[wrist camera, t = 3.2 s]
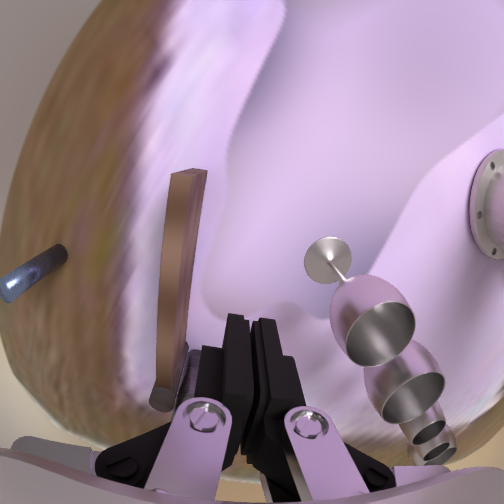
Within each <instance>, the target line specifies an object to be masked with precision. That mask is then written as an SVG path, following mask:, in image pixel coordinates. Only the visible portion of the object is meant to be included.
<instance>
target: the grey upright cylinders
mask: <svg viewBox="0 0 504 504" xmlns="http://www.w3.org/2000/svg"><path fill="white" fill-rule="evenodd" d="M67 257H68V254H67V251H66V249H65V247H64V246H62V245H61V244H56V245H54V246H53V247H51V248H49V249H47V250H46V251H44V252H42V253H41V254H39V255H37V256H36V257H34V258H32V259H31V260H29V261H27V262H26V263H24V264H23V265H21V266H19V267H18V268H16V269H15V270H13V271H12V272H10V273H8V274H7V275H5V276H4V277H2V278H1V279H0V298H1V299H2V300H3V301H4V302H6V303H11V302H12V301H14V300H15V299H16V298H17V297H19V296H20V295H21V294H22V293H24V292H25V291H26V290H28V289H29V288H30V287H32V286H33V285H34V284H36V283H37V282H38V281H40V280H41V279H42V278H44V277H45V276H46V275H48V274H49V273H50V272H52V271H53V270H55V269H56V268H57V267H59V266H60V265H62V264H63V263H65V262H66V260H67ZM200 356H201V351H200V350H191V351H189V352H188V354H187V358H186V362H185V366H184V370H183V373H182V377H181V381H180V385H179V389H178V393H177V397H176V401H175V405H174V410H173V414H172V418H171V421H173V419H174V416H175V414H176V412H177V409H178V408H179V406H180V405H181V404H182V403H183V402H185V401H186V400H189V399H192V398H194V393H195V387H196V380H197V374H198V368H199V362H200Z"/></svg>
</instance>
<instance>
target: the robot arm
mask: <svg viewBox="0 0 504 504" xmlns="http://www.w3.org/2000/svg"><path fill="white" fill-rule="evenodd" d="M469 213H470V225H471V230H472V234H473V237H474V240H475V242H476V244H477V246H478V248H479V249H480V250H481V251H482V252H483V253H484V254H485V255H487V256H489V257H491V258H493V259H499V260H501V259H504V149H499V150H495V151H493V152H491V153H490V154H489V155H488V156H487V157H486V158H485V159H484V160H483V161H482V163H481V165H480V167H479V168H478V171H477V173H476V176H475V178H474V182H473V186H472V190H471V197H470V210H469ZM239 445H241V455H247V464H253V467H255V468H256V469H257V470H259V471H260V480H261V484H262V488H263V491H264V495H265V498H266V502H267V503H247V502H246V503H245V502H227V501H215V495H216V491H217V487H218V482H219V478H220V474H221V472H222V471H223V470H225V469H226V468H228V467H229V466H231V465H232V463H233V460H234V456H235V454H237V451H238V448H239ZM0 504H504V470H502V469H499V468H495V467H470V468H463V469H459V470H454V471H450V470H449V469H448V468H447V467H444V466H442V465H427V466H394V467H393V468H392V469H390V468H389V467H387V466H386V465H384V464H383V463H381V462H379V461H377V460H375V459H373V458H371V457H370V456H368V455H366V454H364V453H362V452H360V451H359V450H357V449H355V448H353V447H352V446H350V445H348V444H346V443H345V442H343V441H342V439H341V437H340V435H339V433H338V431H337V429H336V427H335V425H334V423H333V421H332V420H331V419H330V417H329V416H328V415H327V414H326V413H324V412H323V411H321V410H319V409H317V408H313V407H309V406H306V403H305V399H304V395H303V391H302V387H301V383H300V380H299V376H298V372H297V368H296V364H295V360H294V358H293V357H292V356H283V353H282V349H281V344H280V339H279V335H278V330H277V326H276V321H275V320H274V319H266V318H259V320H258V321H253V323H252V327H251V332H250V326H249V320H244V316H243V315H237V314H230V313H228V317H227V323H226V328H225V334H224V340H223V345H222V348H218V347H211V346H205V345H202V350H201V356H200V362H199V368H198V374H197V380H196V387H195V393H194V398H192V399H189V400H186V401H185V402H183V403H182V404H181V405H180V406H179V408H178V409H177V412H176V414H175V416H174V419H173V421H171V422H169V423H167V424H165V425H163V426H160V427H158V428H156V429H154V430H151V431H149V432H147V433H145V434H142V435H140V436H137V437H135V438H133V439H130V440H128V441H125V442H123V443H120V444H118V445H115V446H113V447H110V448H108V449H106V450H104V451H102V452H99V451H92V449H91V447H83V446H77V445H71V444H65V443H59V442H55V441H50V440H45V439H41V438H37V437H32V436H24V437H20V438H18V439H17V440H16V441H14V443H13V445H12V446H11V449H6V448H0Z"/></svg>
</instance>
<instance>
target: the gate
mask: <svg viewBox="0 0 504 504" xmlns="http://www.w3.org/2000/svg"><path fill="white" fill-rule="evenodd" d="M207 172H208V170H201V169H194V168H192V169H188V170H184V171H180V172H176V173H172V174H171V179H170V186H169V193H168V201H167V208H166V217H165V225H164V235H163V244H162V255H161V267H160V280H159V296H158V316H157V348H156V381H155V384H154V387H153V390H152V392H151V395H150V398H149V403H150V405H151V406H152V407H153V408H154V409H156V410H158V411H161V412H169V411H171V410H173V408H174V404H175V400H176V396H177V392H178V388H179V384H180V380H181V376H182V372H183V368H184V364H185V360H186V357H187V353H188V349H189V346H188V344H187V342H186V341H185V338H186V328H187V318H188V308H189V299H190V290H191V281H192V273H193V265H194V257H195V250H196V242H197V235H198V228H199V222H200V215H201V208H202V202H203V196H204V189H205V183H206V178H207Z"/></svg>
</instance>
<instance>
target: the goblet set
mask: <svg viewBox="0 0 504 504" xmlns="http://www.w3.org/2000/svg"><path fill="white" fill-rule="evenodd" d="M351 261H352V255H351V251H350V248H349V247H348V245H347V244H346V243H345V242H344V241H343V240H341V239H339V238H336V237H324V238H321V239H319V240H317V241H316V242H314V243H313V244H312V245H311V246H310V247H309V248H308V250H307V252H306V255H305V258H304V267H305V270H306V273H307V274H308V276H309V277H310V278H311V279H312V280H314V281H316V282H318V283H322V284H330V283H333V282H336V281H339V284H340V285H339V287H338V288H337V289H336V291H335V292H334V295H333V297H332V299H331V303H330V310H329V317H330V324H331V328H332V332H333V334H334V337H335V339H336V341H337V343H338V344H339V346H340V347H341V349H342V350H343V351H344V353H345V354H346V355H347V356H348V358H349V359H350V360H351V361H352V362H354V363H355V364H357V365H359V366H363V367H364V382H365V387H366V390H367V394H368V396H369V399H370V401H371V403H372V404H373V406H374V408H375V409H376V411H377V412H378V413H379V415H380V416H381V417H382V419H383V420H384V421H385V422H387V423H390V424H399V426H400V428H401V430H402V431H403V433H404V434H405V436H406V437H407V438H408V440H409V443H408V447H407V453H408V457H409V459H410V461H411V462H412V463H413V464H414V465H415V466H427V465H442V464H444V463H445V462H446V461H448V460H449V459H450V458H451V457H452V456H453V455H454V454H455V452H456V450H457V446H456V439H455V435H454V432H453V430H452V429H451V428H450V426H448V425H447V424H446V420H445V417H444V414H443V411H442V409H441V407H440V405H439V403H438V401H437V400H438V399H439V397H440V396H441V394H442V392H443V390H444V387H445V378H444V375H443V373H442V371H441V369H440V367H439V365H438V363H437V361H436V360H435V358H434V357H433V356H432V354H431V353H430V352H429V351H428V350H427V349H426V348H425V347H424V346H423V345H421V344H420V343H418V342H417V341H415V340H413V339H412V337H413V334H414V331H415V325H416V321H415V316H414V313H413V311H412V309H411V307H410V306H409V304H408V302H407V301H406V299H405V298H404V296H403V295H402V294H401V293H400V292H399V290H398V289H397V288H395V287H394V286H393V285H392V284H390V283H389V282H387V281H386V280H384V279H381V278H379V277H376V276H372V275H357V276H353V277H351V278H349V279H348V278H346V277H345V274H346V273H347V272H348V270H349V268H350V266H351Z"/></svg>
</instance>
